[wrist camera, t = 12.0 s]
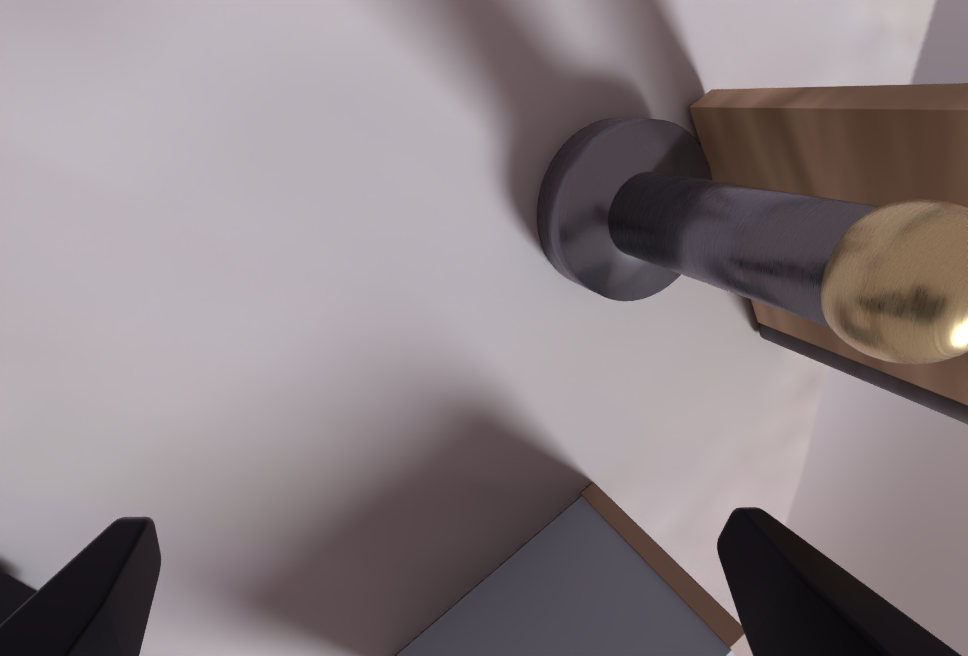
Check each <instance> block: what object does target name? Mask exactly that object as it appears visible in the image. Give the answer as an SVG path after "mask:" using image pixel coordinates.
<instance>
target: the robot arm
mask: <svg viewBox="0 0 968 656" xmlns="http://www.w3.org/2000/svg"><path fill="white" fill-rule="evenodd" d="M717 550H718V555H719V558H720V561H721V564H722V567H723V570H724V573H725V576H726V579H727V582H728V585H729V588H730V592H731V595H732V598H733V601H734V604H735V607H736V610H737V613H738V616H739V619H740V622H741V625H742V628H743V631H744V633H745V636H746V639H747V642H748V644H749V647H750V649H751V652H752V654H753V656H961V655H959V654H958V653H957V652H956V651H954V650H953V649H952V648H950V647H949V646H948V645H946V644H945V643H944V642H942V641H941V640H939V639H938V638H937V637H935V636H934V635H933V634H931V633H930V632H929V631H927V630H926V629H924V628H923V627H922V626H920V625H919V624H918V623H916V622H915V621H914V620H912V619H911V618H909V617H908V616H907V615H905V614H904V613H903V612H901V611H900V610H899V609H897V608H896V607H894V606H893V605H892V604H890V603H889V602H888V601H886V600H885V599H884V598H882V597H881V596H880V595H878V594H877V593H875V592H874V591H873V590H871V589H870V588H869V587H867V586H866V585H865V584H863V583H862V582H861V581H859V580H858V579H856V578H855V577H854V576H852V575H851V574H850V573H848V572H847V571H845V570H844V569H843V568H841V567H840V566H839V565H837V564H836V563H835V562H833V561H832V560H831V559H829V558H828V557H826V556H825V555H824V554H822V553H821V552H820V551H818V550H817V549H815V548H814V547H813V546H812V545H810V544H809V543H807V542H806V541H805V540H803V539H802V538H801V537H799V536H798V535H796V534H795V533H794V532H793V531H791V530H790V529H788V528H787V527H786V526H784V525H783V524H782V523H780V522H779V521H778V520H776V519H775V518H773V517H772V516H771V515H769V514H768V513H767V512H765V511H764V510H762V509H760V508H756V507H743V508H736V509H735V510H733V512H732V513H731V515H730V517H729V519H728V521H727V522H726V524H725V526H724V528H723V530H722V532H721V534H720V536H719V538H718V542H717ZM160 566H161V554H160V549H159V544H158V539H157V534H156V529H155V524H154V521H153V520H152V519H151V518H150V517H123V518H119V519H117V520H116V521H114V522H113V523H112V524H111V525H110V526H108V527H107V528H106V529H105V530H104V531H103V532H102V533H101V534H100V535H99V536H97V537H96V538H95V539H94V540H93V541H92V542H91V543H90V544H89V545H88V546H87V547H85V548H84V549H83V550H82V551H81V552H80V553H79V554H78V555H77V556H76V557H74V558H73V559H72V560H71V561H70V562H69V563H68V564H67V565H66V566H65V567H63V568H62V569H61V570H60V571H59V572H58V573H57V574H56V575H55V576H54V577H52V578H51V579H50V580H49V581H48V582H47V583H46V584H45V585H44V586H43V587H42V588H40V589H39V590H38V591H37V592H35V591H34V590H32V589H30V588H28V587H27V586H25V585H23V584H21V583H20V582H18V581H16V580H14V579H13V578H11V577H9V576H7V575H6V574H4V573H2V572H0V656H139V654H140V650H141V646H142V642H143V638H144V633H145V629H146V625H147V621H148V617H149V613H150V609H151V605H152V601H153V597H154V593H155V589H156V585H157V581H158V577H159V572H160Z"/></svg>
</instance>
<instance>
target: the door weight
mask: <svg viewBox="0 0 968 656" xmlns="http://www.w3.org/2000/svg"><path fill="white" fill-rule="evenodd" d="M537 225H538V233H539V237H540V241H541V244H542V247H543V249H544V252H545V254H546V256H547V257H548V259H549V261H550V262H551V264H552V265H553V266H554V267H555V269H556V270H557V271H558V272H559V273H561V274H562V275H563V276H564V277H566V278H567V279H569V280H571V281H573V282H575V283H577V284H579V285H581V286H583V287H585V288H587V289H589V290H591V291H593V292H595V293H598V294H600V295H602V296H604V297H606V298H609V299H613V300H618V301H634V300H639V299H643V298H646V297H649V296H652V295H654V294H656V293H658V292H660V291H661V290H663V289H664V288H666V287H667V286H669V285H670V284H671V283H672V282H674V281H675V280H676V279H677V278H678V277H679V276H680V275H681V274H682V275H685V276H688V277H691V278H693V279H696V280H699V281H702V282H705V283H707V284H710V285H713V286H716V287H718V288H721V289H724V290H727V291H730V292H732V293H735V294H738V295H741V296H744V297H746V298H749V299H752V300H755V301H758V302H760V303H763V304H766V305H769V306H771V307H774V308H777V309H780V310H783V311H785V312H788V313H791V314H794V315H797V316H799V317H802V318H805V319H808V320H811V321H813V322H816V323H819V324H822V325H824V326H827V327H830V328H832V330H833V331H834V332H835V333H836V334H837V335H838V336H839V337H840V338H841V339H842V340H843V341H845V342H846V343H847V344H849V345H850V346H852V347H853V348H855V349H857V350H858V351H860V352H862V353H864V354H866V355H868V356H871V357H874V358H877V359H881V360H884V361H888V362H894V363H902V364H926V363H933V362H939V361H944V360H947V359H950V358H953V357H956V356H960V355H962V354H964V353H966V352H968V208H967V207H964V206H961V205H958V204H955V203H951V202H946V201H941V200H927V199H916V200H906V201H900V202H894V203H890V204H887V205H884V206H875V205H869V204H862V203H856V202H849V201H843V200H836V199H829V198H823V197H816V196H810V195H803V194H796V193H790V192H783V191H777V190H770V189H764V188H757V187H750V186H744V185H737V184H731V183H724V182H718V181H713V180H712V174H711V169H710V166H709V163H708V160H707V157H706V155H705V153H704V151H703V149H702V147H701V146H700V145H699V143H698V142H697V140H696V139H695V138H694V137H693V136H692V135H691V134H690V133H689V132H688V131H686V130H685V129H684V128H682V127H680V126H678V125H676V124H674V123H672V122H668V121H665V120H657V119H632V118H611V119H606V120H601V121H598V122H595V123H593V124H590V125H589V126H587V127H585V128H583V129H581V130H580V131H579V132H577V133H576V134H575V135H573V136H572V137H571V138H570V139H569V140H568V141H567V142H566V143H565V144H564V145H563V146H562V148H561V149H560V150H559V151H558V153H557V154H556V156H555V157H554V159H553V160H552V162H551V164H550V166H549V168H548V170H547V172H546V174H545V177H544V179H543V182H542V185H541V189H540V193H539V198H538V206H537Z"/></svg>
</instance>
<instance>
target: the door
mask: <svg viewBox="0 0 968 656" xmlns="http://www.w3.org/2000/svg"><path fill="white" fill-rule="evenodd" d="M689 109H690V112H691V115H692V118H693V122H694V125H695V128H696V131H697V134H698V137H699V140H700V143H701V146H702V149H703V151H704V153H705V155H706V157H707V160H708V163H709V166H710V169H711V174H712V180H713V181H718V182H724V183H731V184H737V185H744V186H750V187H757V188H764V189H770V190H777V191H783V192H790V193H796V194H803V195H810V196H816V197H823V198H829V199H836V200H843V201H849V202H856V203H862V204H869V205H875V206H884V205H887V204H890V203H894V202H900V201H906V200H916V199H927V200H941V201H946V202H951V203H955V204H958V205H961V206H964V207H967V208H968V83H963V84H922V85H921V84H920V85H879V86H839V87H798V88H757V89H717V90H711V91H709V92H708V93H707V94H705V95H704V96H703V97H702V98H700V99H699V100H698V101H696V102H695V103H694V104H692V105H691V106H690V107H689ZM751 302H752V305H753V308H754V311H755V315H756V318H757V321H758V323H761V324H760V329H759V332H760V336H761V337H762V338H764V339H766V340H768V341H771V342H773V343H776V344H778V345H780V346H783V347H785V348H787V349H790V350H792V351H795V352H797V353H799V354H802V355H804V356H806V357H809V358H811V359H814V360H816V361H818V362H821V363H823V364H825V365H828V366H830V367H833V368H835V369H838V370H840V371H842V372H845V373H847V374H849V375H852V376H854V377H856V378H859V379H861V380H863V381H866V382H868V383H871V384H873V385H875V386H878V387H880V388H883V389H885V390H887V391H890V392H892V393H894V394H897V395H899V396H902V397H904V398H906V399H909V400H911V401H913V402H916V403H918V404H921V405H923V406H926V407H928V408H930V409H932V410H935V411H937V412H940V413H942V414H944V415H947V416H949V417H952V418H954V419H956V420H959V421H961V422H963V423H966V424H968V352H966V353H964V354H962V355H960V356H956V357H953V358H950V359H947V360H944V361H939V362H933V363H926V364H902V363H894V362H888V361H884V360H881V359H877V358H874V357H871V356H868V355H866V354H864V353H862V352H860V351H858V350H857V349H855V348H853V347H852V346H850V345H849V344H847V343H846V342H845V341H843V340H842V339H841V338H840V337H839V336H838V335H837V334H836V333H835V332H834V331H833V330H832V328H830V327H827V326H824V325H822V324H819V323H816V322H813V321H811V320H808V319H805V318H802V317H799V316H797V315H794V314H791V313H788V312H785V311H783V310H780V309H777V308H774V307H771V306H769V305H766V304H763V303H760V302H758V301H755V300H752V299H751Z"/></svg>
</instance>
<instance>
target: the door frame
mask: <svg viewBox="0 0 968 656" xmlns="http://www.w3.org/2000/svg"><path fill="white" fill-rule="evenodd" d="M581 495H582V496H581V497H580V498H579V499H578V500H576V501H575V502H574V503H573V504H572V505H571V506H569V507H568V508H567V509H566V510H565V511H564V512H562V513H561V514H560V515H559V516H558V517H557V518H555V519H554V520H553V521H552V522H551V523H550V524H548V525H547V526H546V527H545V528H544V529H543V530H542V531H540V532H539V533H538V534H537V535H536V536H535V537H533V538H532V539H531V540H530V541H529V542H528V543H526V544H525V545H524V546H523V547H522V548H521V549H519V550H518V551H517V552H516V553H515V554H514V555H512V556H511V557H510V558H509V559H508V560H507V561H505V562H504V563H503V564H502V565H501V566H500V567H498V568H497V569H496V570H495V571H494V572H493V573H491V574H490V575H489V576H488V577H487V578H486V579H484V580H483V581H482V582H481V583H480V584H479V585H478V586H476V587H475V588H474V589H473V590H472V591H471V592H469V593H468V594H467V595H466V596H465V597H464V598H462V599H461V600H460V601H459V602H458V603H457V604H455V605H454V606H453V607H452V608H451V609H450V610H448V611H447V612H446V613H445V614H444V615H443V616H441V617H440V618H439V619H438V620H437V621H436V622H434V623H433V624H432V625H431V626H430V627H429V628H427V629H426V630H425V631H424V632H423V633H422V634H421V635H419V636H418V637H417V638H416V639H415V640H414V641H412V642H411V643H410V644H409V645H408V646H407V647H405V648H404V649H403V650H402V651H401V652H400V653H398V654H397V655H396V656H753V654H752V652H751V649H750V647H749V644H748V642H747V639H746V636H745V633H744V631H743V628H742V625H740V624H739V623H738V622H737V621H736V620H735V619H734V618H733V617H732V616H731V615H730V614H729V613H728V612H727V611H726V610H725V609H724V608H723V607H722V606H721V605H720V604H719V603H718V602H717V601H716V600H715V599H714V598H713V597H712V596H711V595H710V594H709V593H707V592H706V591H705V590H704V589H703V588H702V587H701V586H700V585H699V584H698V583H697V582H696V581H695V580H694V579H693V578H692V577H691V576H690V575H689V574H688V573H687V572H686V571H685V570H684V569H683V568H682V567H681V566H680V565H679V564H678V563H677V562H676V561H674V560H673V559H672V558H671V557H670V556H669V555H668V554H667V553H666V552H665V551H664V550H663V549H662V548H661V547H660V546H659V545H658V544H657V543H656V542H655V541H654V540H653V539H652V538H651V537H650V536H649V535H648V534H647V533H646V532H645V531H644V530H643V529H641V528H640V527H639V526H638V525H637V524H636V523H635V522H634V521H633V520H632V519H631V518H630V517H629V516H628V515H627V514H626V513H625V512H624V511H623V510H622V509H621V508H620V507H619V506H618V505H617V504H616V503H615V502H614V501H613V500H612V499H611V498H610V497H608V496H607V495H606V494H605V493H604V492H603V491H602V490H601V489H600V488H599V487H598V486H597V485H596V484H595V483H594V482H593V483H592V484H590V485H589V486H588V487H587V488H586V489H585V490H583V491H582V492H581Z"/></svg>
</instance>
